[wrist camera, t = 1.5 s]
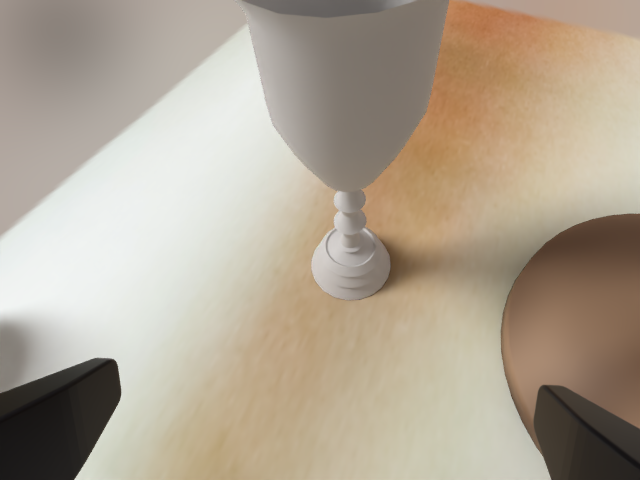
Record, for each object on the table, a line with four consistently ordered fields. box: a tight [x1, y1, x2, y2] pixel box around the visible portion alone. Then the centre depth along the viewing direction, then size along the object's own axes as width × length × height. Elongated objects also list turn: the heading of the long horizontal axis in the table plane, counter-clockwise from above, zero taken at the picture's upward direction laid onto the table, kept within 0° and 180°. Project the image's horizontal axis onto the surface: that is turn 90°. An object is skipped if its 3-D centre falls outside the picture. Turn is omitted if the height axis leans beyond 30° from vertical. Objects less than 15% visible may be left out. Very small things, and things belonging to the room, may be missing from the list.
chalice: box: [235, 0, 449, 300], centre depth 18 cm, size 7×7×18 cm
